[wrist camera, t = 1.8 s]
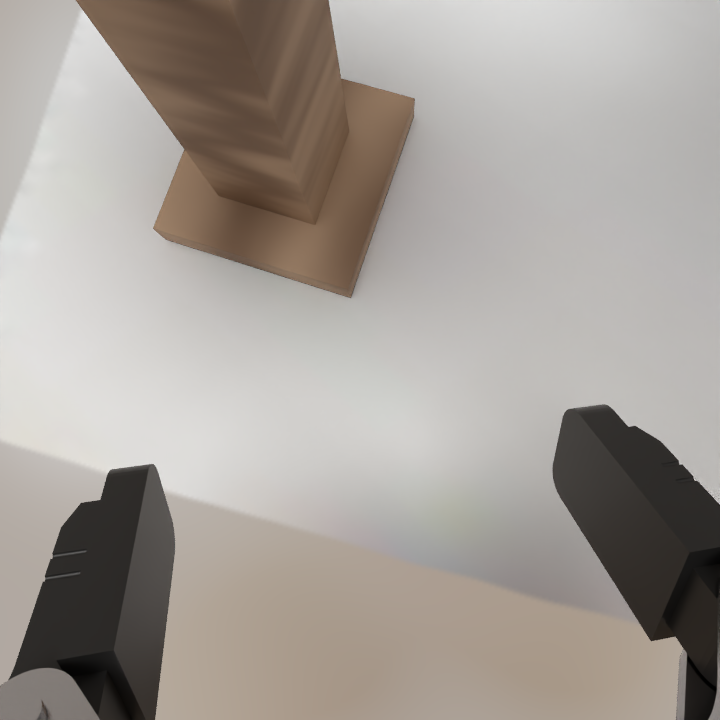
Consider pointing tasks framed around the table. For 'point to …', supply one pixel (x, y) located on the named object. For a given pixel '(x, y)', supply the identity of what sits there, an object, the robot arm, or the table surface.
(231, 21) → the stand
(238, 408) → the table surface
